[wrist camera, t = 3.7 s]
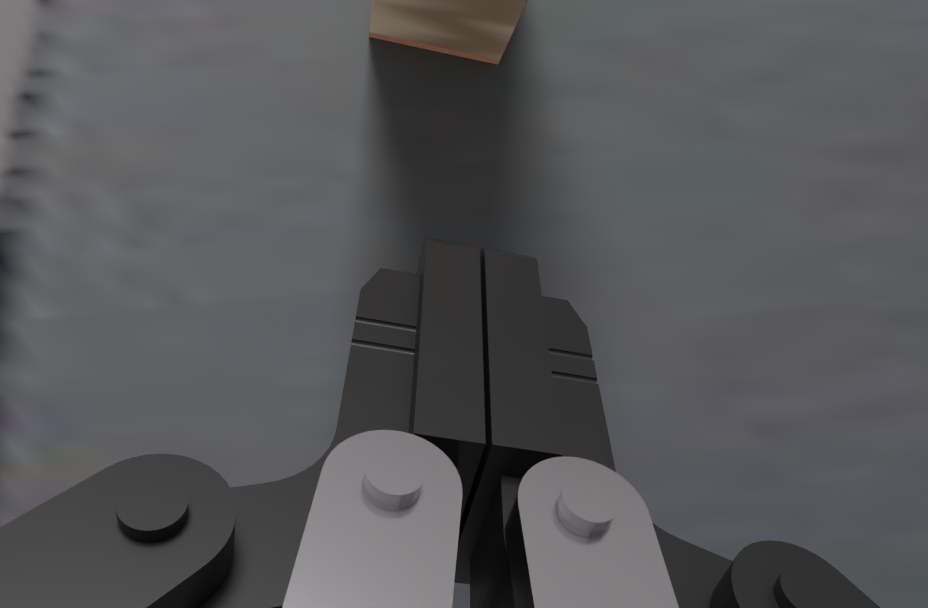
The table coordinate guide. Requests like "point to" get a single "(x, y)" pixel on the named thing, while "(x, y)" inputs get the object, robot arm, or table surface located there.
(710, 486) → the table surface
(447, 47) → the tall block
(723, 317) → the table surface
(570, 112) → the table surface
